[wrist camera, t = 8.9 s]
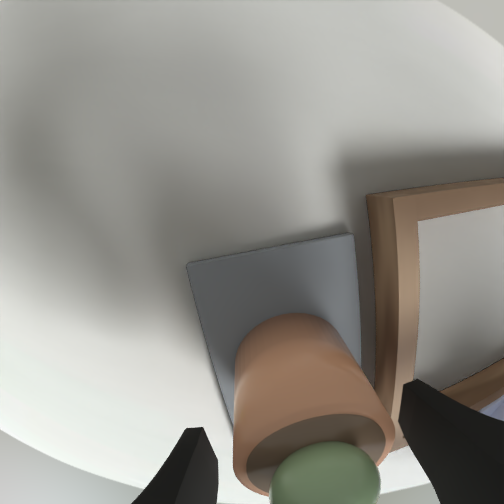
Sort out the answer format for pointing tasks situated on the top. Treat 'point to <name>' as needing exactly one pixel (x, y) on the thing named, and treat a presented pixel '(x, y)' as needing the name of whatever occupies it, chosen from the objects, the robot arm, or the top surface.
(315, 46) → the top surface
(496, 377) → the frame
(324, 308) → the mat
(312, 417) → the terracotta pot
